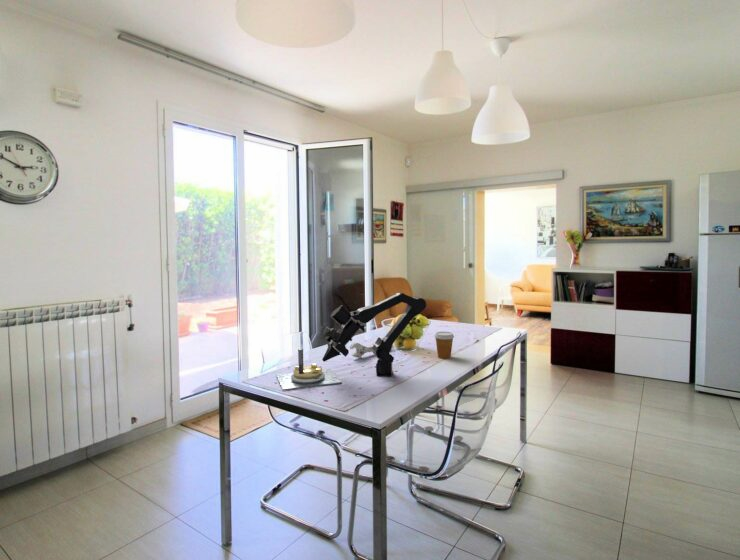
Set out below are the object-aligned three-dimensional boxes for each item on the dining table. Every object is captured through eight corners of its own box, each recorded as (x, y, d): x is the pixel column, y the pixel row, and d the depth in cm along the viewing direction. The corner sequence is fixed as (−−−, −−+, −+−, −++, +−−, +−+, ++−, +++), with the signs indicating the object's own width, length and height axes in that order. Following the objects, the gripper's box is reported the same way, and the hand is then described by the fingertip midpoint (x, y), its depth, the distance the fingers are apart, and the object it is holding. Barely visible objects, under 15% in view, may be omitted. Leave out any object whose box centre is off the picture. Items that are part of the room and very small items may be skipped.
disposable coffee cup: (448, 353, 220) (448, 330, 219) (457, 358, 211) (457, 334, 210) (431, 355, 218) (431, 332, 217) (439, 360, 209) (439, 336, 208)
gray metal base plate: (330, 370, 195) (329, 365, 195) (341, 383, 176) (341, 378, 176) (276, 376, 187) (276, 371, 187) (282, 390, 169) (282, 385, 168)
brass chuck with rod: (327, 375, 180) (326, 347, 179) (301, 381, 173) (300, 351, 172) (313, 368, 190) (313, 342, 189) (288, 373, 183) (287, 346, 182)
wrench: (393, 355, 231) (351, 359, 210) (390, 354, 232) (348, 359, 212) (394, 340, 231) (352, 343, 210) (391, 339, 232) (349, 342, 212)
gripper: (329, 316, 188) (304, 343, 186) (340, 324, 171) (313, 354, 168) (346, 332, 192) (323, 359, 189) (359, 341, 174) (333, 371, 171)
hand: (323, 360), depth 179 cm, fingers closed
